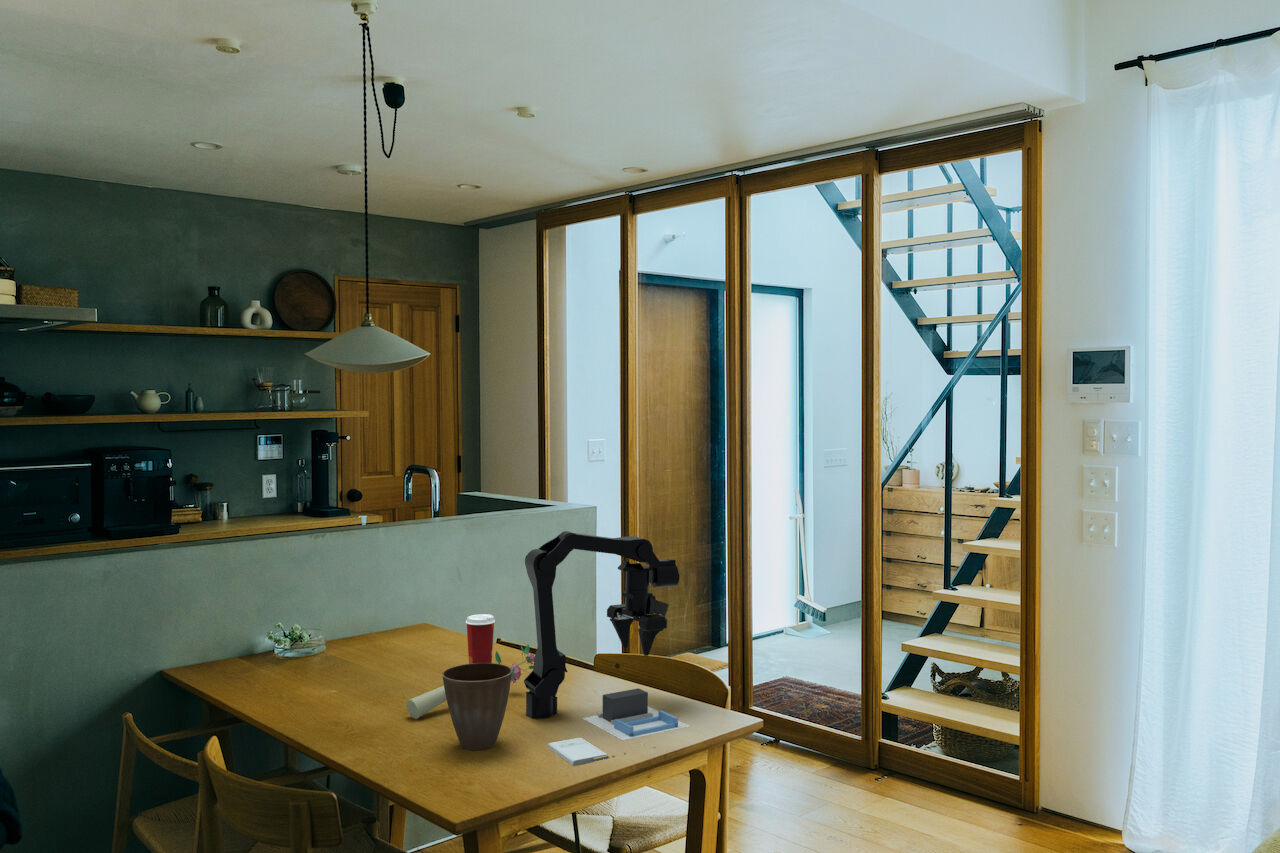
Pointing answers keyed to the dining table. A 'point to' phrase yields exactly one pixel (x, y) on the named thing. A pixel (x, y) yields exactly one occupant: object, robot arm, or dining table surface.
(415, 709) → the flower vase
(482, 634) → the coffee cup
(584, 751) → the external hard drive
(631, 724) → the board
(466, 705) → the plant pot
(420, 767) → the dining table surface
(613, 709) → the dark gray block
